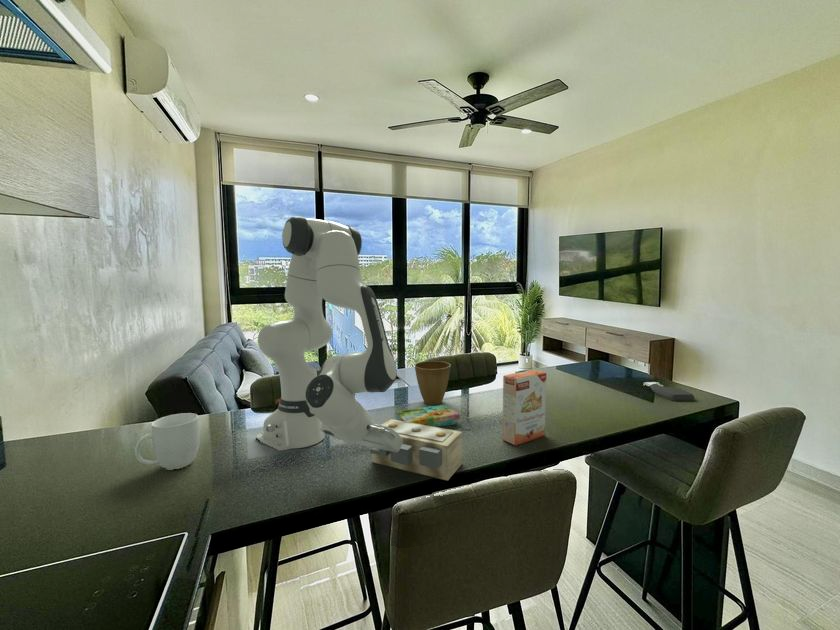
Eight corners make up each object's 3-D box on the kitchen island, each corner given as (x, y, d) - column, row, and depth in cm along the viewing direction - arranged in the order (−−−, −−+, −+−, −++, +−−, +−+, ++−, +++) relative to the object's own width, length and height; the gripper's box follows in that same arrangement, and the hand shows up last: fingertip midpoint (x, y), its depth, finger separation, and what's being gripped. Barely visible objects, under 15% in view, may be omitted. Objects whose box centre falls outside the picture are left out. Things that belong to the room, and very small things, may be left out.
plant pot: (407, 402, 158) (407, 364, 157) (433, 394, 168) (432, 359, 167) (432, 410, 147) (432, 370, 146) (458, 402, 157) (458, 364, 156)
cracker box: (516, 447, 113) (516, 378, 112) (501, 440, 118) (501, 374, 117) (546, 436, 121) (547, 372, 119) (531, 430, 126) (532, 368, 124)
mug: (137, 484, 96) (132, 434, 95) (136, 467, 104) (133, 421, 103) (204, 466, 105) (201, 420, 104) (198, 452, 113) (195, 410, 112)
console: (372, 462, 105) (371, 429, 105) (391, 447, 114) (390, 417, 114) (447, 480, 95) (447, 444, 94) (462, 463, 104) (461, 430, 103)
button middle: (390, 461, 97) (390, 446, 97) (395, 457, 99) (395, 442, 99) (407, 465, 95) (407, 449, 95) (412, 461, 97) (412, 446, 97)
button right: (419, 464, 95) (419, 449, 95) (424, 460, 97) (423, 445, 97) (437, 468, 93) (437, 453, 92) (441, 464, 95) (441, 449, 95)
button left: (370, 453, 102) (370, 438, 102) (375, 449, 104) (375, 435, 104) (386, 456, 100) (385, 442, 99) (391, 452, 102) (390, 438, 102)
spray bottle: (670, 402, 154) (637, 386, 179) (697, 401, 154) (661, 386, 178) (670, 394, 154) (637, 380, 178) (697, 394, 154) (661, 380, 178)
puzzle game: (460, 412, 132) (405, 420, 125) (460, 425, 132) (406, 433, 126) (446, 402, 143) (395, 409, 136) (446, 414, 143) (396, 421, 137)
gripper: (394, 418, 88) (414, 443, 97) (326, 406, 97) (351, 430, 107) (383, 443, 84) (406, 467, 94) (314, 428, 94) (341, 451, 103)
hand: (376, 447), depth 100 cm, fingers closed, pressing on button left
